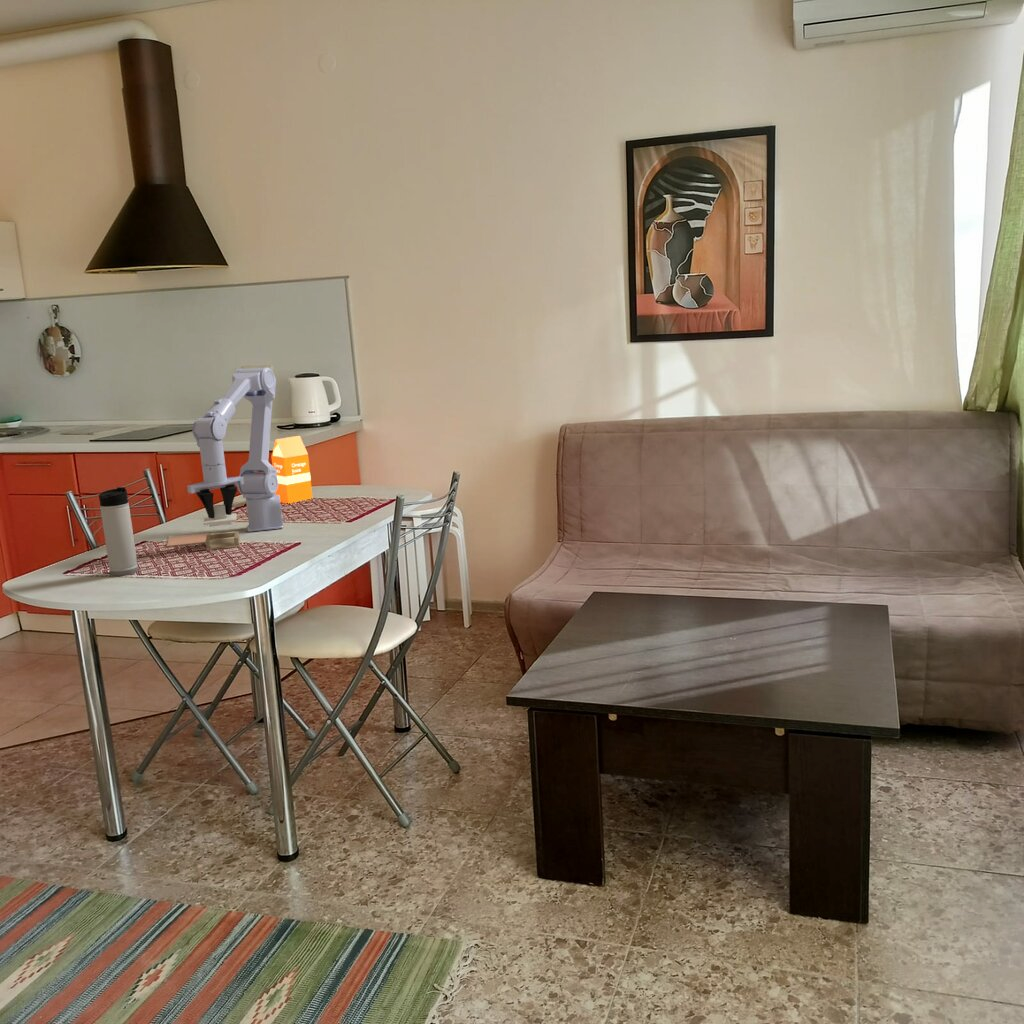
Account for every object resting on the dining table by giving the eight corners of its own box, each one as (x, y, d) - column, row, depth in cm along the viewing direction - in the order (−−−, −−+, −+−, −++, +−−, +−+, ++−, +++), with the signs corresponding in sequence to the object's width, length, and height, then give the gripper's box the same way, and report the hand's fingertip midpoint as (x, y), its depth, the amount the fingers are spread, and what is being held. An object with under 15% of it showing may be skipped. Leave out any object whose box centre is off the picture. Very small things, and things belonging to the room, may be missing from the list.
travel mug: (145, 569, 234) (133, 487, 230) (126, 576, 228) (113, 492, 223) (123, 568, 236) (111, 486, 232) (104, 575, 230) (91, 492, 226)
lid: (237, 518, 257) (235, 501, 256) (236, 524, 250) (234, 507, 249) (205, 521, 256) (203, 504, 255) (203, 528, 248) (201, 510, 247)
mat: (212, 533, 268) (212, 532, 268) (210, 542, 257) (210, 541, 257) (170, 538, 265) (170, 536, 265) (166, 547, 255) (166, 546, 255)
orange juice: (276, 501, 310) (269, 438, 306) (300, 496, 316) (293, 434, 311) (288, 503, 304) (281, 440, 300) (313, 498, 310) (306, 436, 306)
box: (239, 539, 259) (238, 531, 258) (239, 546, 251) (238, 537, 250) (208, 543, 257) (207, 534, 256) (206, 550, 249) (205, 541, 249)
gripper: (232, 458, 257) (238, 509, 260) (179, 467, 248) (186, 519, 251) (245, 460, 252) (251, 512, 255) (191, 469, 242) (198, 522, 245)
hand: (220, 516), depth 252 cm, fingers closed on lid, 4 cm apart
